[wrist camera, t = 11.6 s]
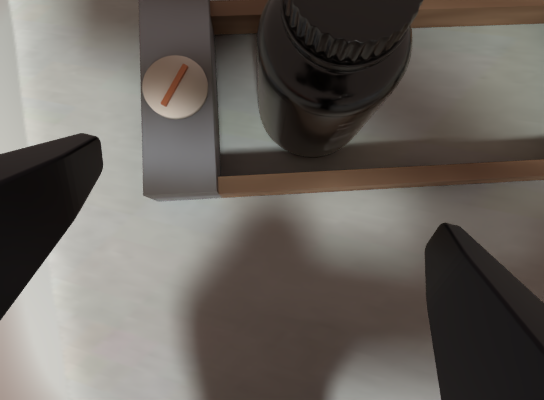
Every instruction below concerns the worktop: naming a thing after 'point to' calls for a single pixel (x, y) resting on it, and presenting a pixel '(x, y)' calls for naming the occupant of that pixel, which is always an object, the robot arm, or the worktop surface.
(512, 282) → the robot arm
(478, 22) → the wooden frame
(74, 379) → the worktop surface
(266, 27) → the supplement bottle
